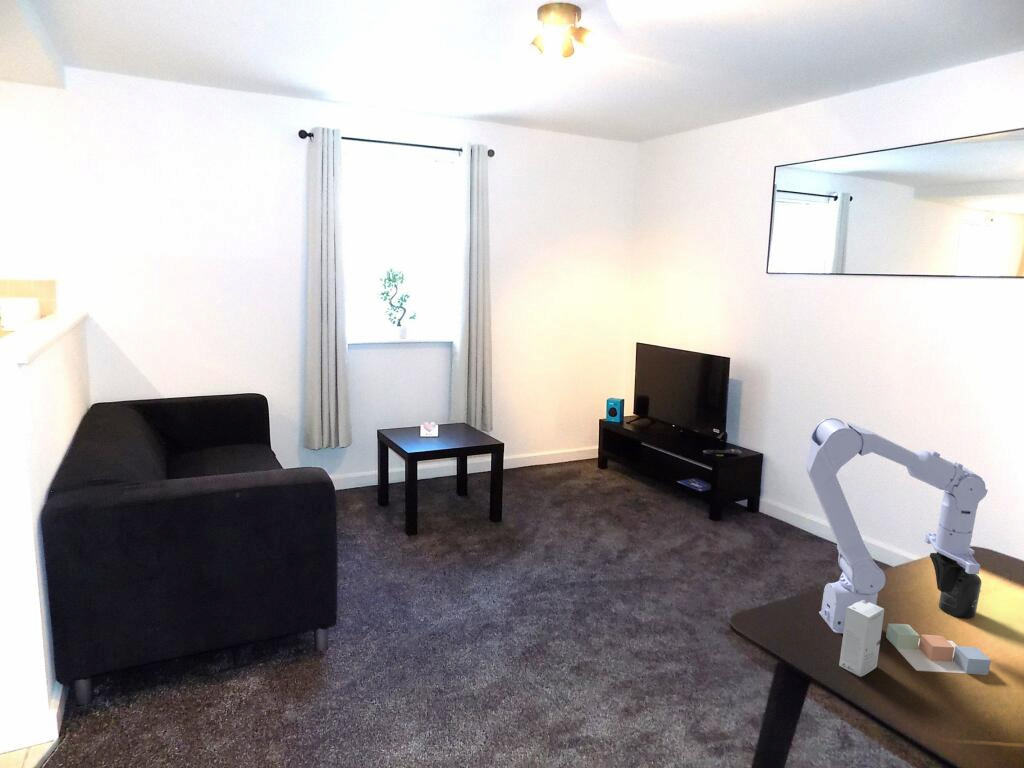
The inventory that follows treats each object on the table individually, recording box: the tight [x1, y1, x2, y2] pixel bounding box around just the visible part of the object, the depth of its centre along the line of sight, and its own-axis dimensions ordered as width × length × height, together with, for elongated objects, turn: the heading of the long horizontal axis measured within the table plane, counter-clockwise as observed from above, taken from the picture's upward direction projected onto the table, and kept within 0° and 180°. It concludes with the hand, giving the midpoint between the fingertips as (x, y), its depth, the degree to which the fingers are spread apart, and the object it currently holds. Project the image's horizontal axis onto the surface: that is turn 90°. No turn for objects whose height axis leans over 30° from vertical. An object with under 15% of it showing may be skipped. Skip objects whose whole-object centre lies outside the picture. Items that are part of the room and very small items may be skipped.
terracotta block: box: [919, 634, 954, 662], centre depth 127 cm, size 4×4×3 cm
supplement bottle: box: [938, 572, 982, 620], centre depth 143 cm, size 7×7×12 cm
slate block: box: [953, 645, 992, 676], centre depth 123 cm, size 4×4×3 cm
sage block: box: [885, 622, 921, 650], centre depth 130 cm, size 4×4×3 cm
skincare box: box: [838, 600, 885, 678], centre depth 122 cm, size 6×4×12 cm
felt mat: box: [885, 636, 987, 676], centre depth 127 cm, size 13×11×1 cm
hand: (944, 590), depth 133 cm, fingers closed
